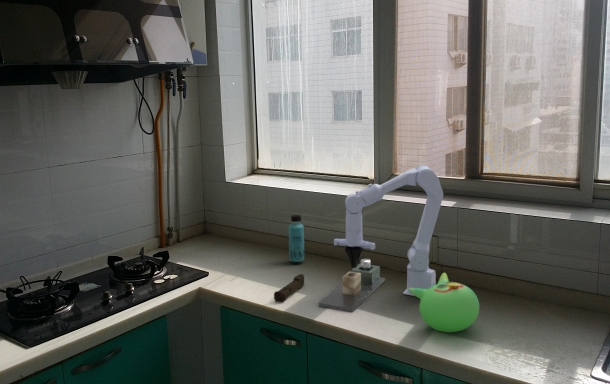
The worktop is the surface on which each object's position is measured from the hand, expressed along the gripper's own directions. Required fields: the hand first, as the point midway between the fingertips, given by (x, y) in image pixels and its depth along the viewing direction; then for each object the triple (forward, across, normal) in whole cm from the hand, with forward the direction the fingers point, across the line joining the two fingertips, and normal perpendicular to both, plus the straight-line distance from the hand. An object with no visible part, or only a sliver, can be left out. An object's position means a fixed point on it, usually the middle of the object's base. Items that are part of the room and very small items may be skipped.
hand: (354, 266), depth 195 cm
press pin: (+5, 0, +11) cm, 12 cm away
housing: (+8, 0, -2) cm, 8 cm away
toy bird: (+10, +36, -16) cm, 40 cm away
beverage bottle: (+10, -34, +21) cm, 41 cm away
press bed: (+9, 0, -1) cm, 9 cm away
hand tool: (+10, -21, -9) cm, 25 cm away
